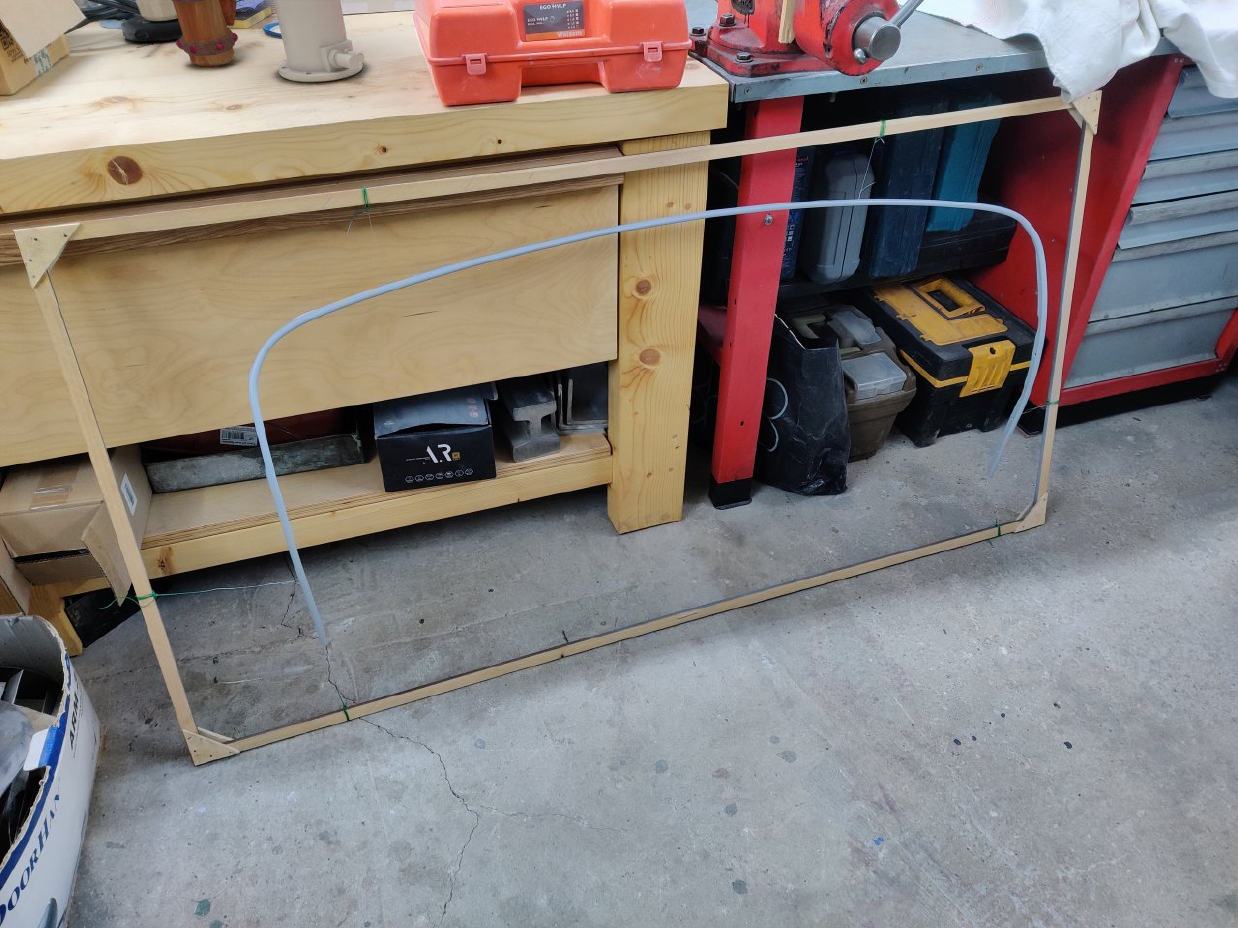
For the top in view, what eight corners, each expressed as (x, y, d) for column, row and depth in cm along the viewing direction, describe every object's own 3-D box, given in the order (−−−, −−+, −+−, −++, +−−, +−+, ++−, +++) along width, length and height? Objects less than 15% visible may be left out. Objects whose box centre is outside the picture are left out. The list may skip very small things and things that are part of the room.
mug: (220, 73, 137) (190, -36, 127) (173, 70, 138) (140, -39, 128) (267, 48, 148) (243, -55, 138) (223, 45, 149) (196, -56, 140)
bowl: (195, 14, 152) (187, -14, 150) (158, 23, 148) (149, -6, 145) (169, 9, 155) (161, -19, 153) (133, 18, 151) (123, -12, 148)
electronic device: (216, 34, 160) (124, 28, 155) (212, 1, 156) (117, -5, 151) (218, 55, 154) (121, 50, 149) (213, 21, 150) (114, 15, 145)
